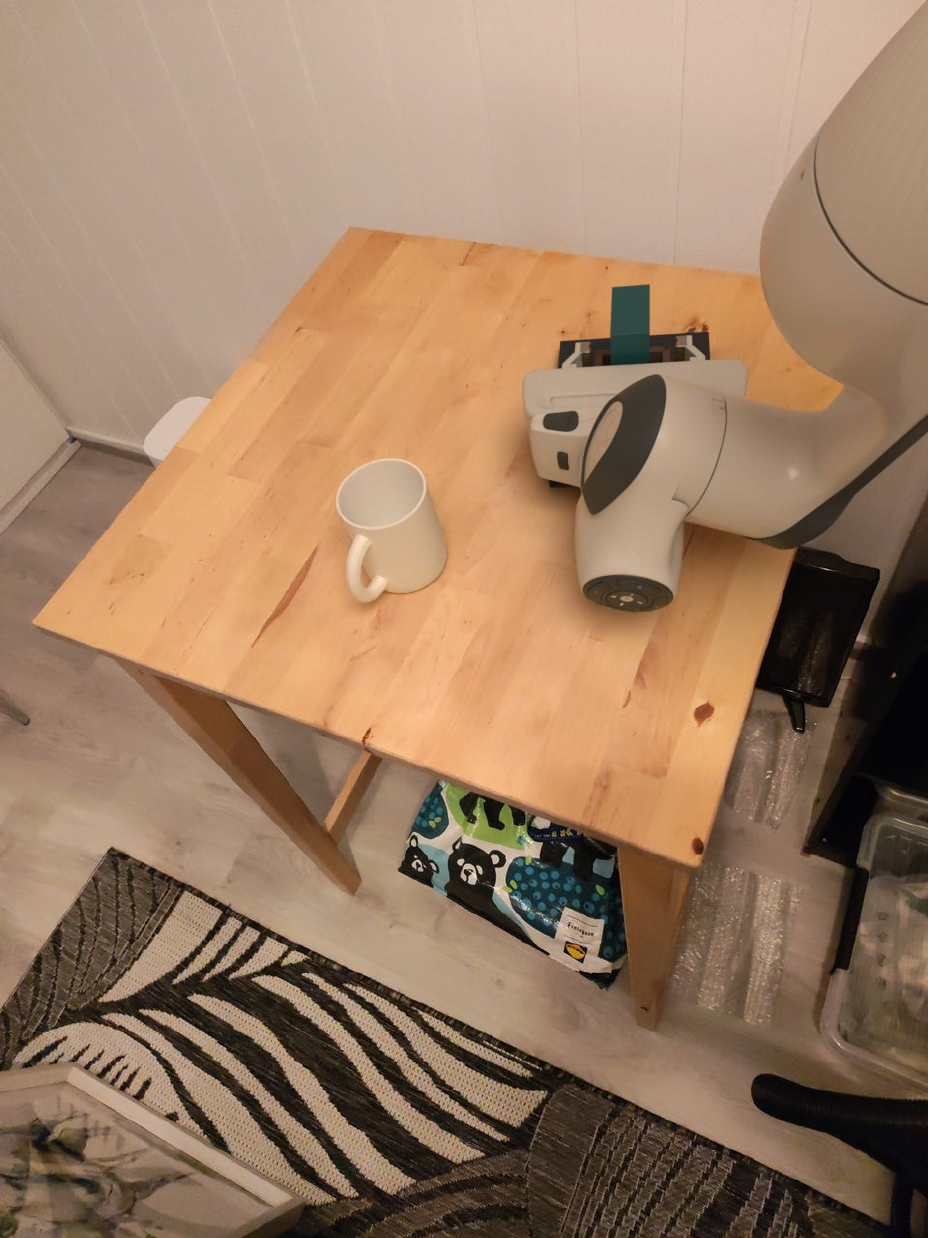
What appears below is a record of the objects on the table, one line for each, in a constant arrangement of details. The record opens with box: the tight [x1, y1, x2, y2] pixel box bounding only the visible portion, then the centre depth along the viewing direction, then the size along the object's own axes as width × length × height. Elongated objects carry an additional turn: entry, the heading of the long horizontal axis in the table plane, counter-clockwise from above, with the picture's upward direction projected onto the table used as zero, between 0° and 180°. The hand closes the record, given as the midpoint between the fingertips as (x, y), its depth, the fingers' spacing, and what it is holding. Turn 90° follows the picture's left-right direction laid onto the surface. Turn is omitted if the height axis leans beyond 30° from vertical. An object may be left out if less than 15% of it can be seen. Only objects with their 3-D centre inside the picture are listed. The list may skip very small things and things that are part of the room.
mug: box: [335, 457, 448, 603], centre depth 74 cm, size 12×8×10 cm
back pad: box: [609, 283, 651, 366], centre depth 79 cm, size 4×7×11 cm, turn 173°
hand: (632, 344), depth 78 cm, fingers open, 8 cm apart
